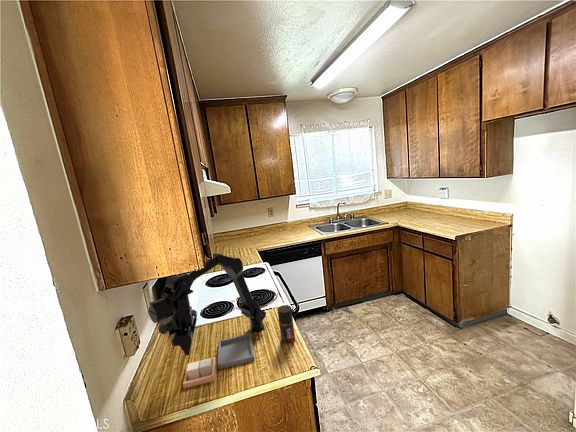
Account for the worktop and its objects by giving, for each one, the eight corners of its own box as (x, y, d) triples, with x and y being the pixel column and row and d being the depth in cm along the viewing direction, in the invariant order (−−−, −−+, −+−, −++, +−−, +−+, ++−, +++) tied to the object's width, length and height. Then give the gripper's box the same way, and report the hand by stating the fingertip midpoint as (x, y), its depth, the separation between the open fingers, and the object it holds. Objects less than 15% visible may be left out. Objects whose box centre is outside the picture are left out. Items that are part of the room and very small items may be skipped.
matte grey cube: (202, 369, 105) (200, 360, 104) (212, 367, 105) (211, 358, 105) (201, 377, 101) (199, 367, 100) (212, 374, 102) (210, 365, 101)
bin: (219, 345, 119) (218, 340, 119) (251, 338, 122) (250, 333, 122) (218, 370, 104) (217, 365, 104) (254, 361, 107) (253, 356, 106)
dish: (188, 368, 107) (187, 363, 106) (216, 362, 109) (215, 356, 109) (184, 389, 96) (182, 383, 96) (215, 381, 99) (214, 376, 98)
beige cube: (190, 372, 104) (188, 363, 103) (200, 370, 105) (199, 361, 104) (188, 380, 100) (186, 370, 99) (199, 377, 101) (198, 368, 100)
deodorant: (286, 346, 113) (282, 314, 111) (278, 340, 118) (274, 309, 116) (297, 340, 117) (294, 308, 114) (289, 334, 122) (286, 303, 119)
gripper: (164, 301, 105) (171, 337, 108) (150, 327, 87) (160, 370, 90) (193, 295, 107) (200, 331, 110) (187, 320, 89) (195, 361, 92)
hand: (189, 347), depth 100 cm, fingers open, 9 cm apart
